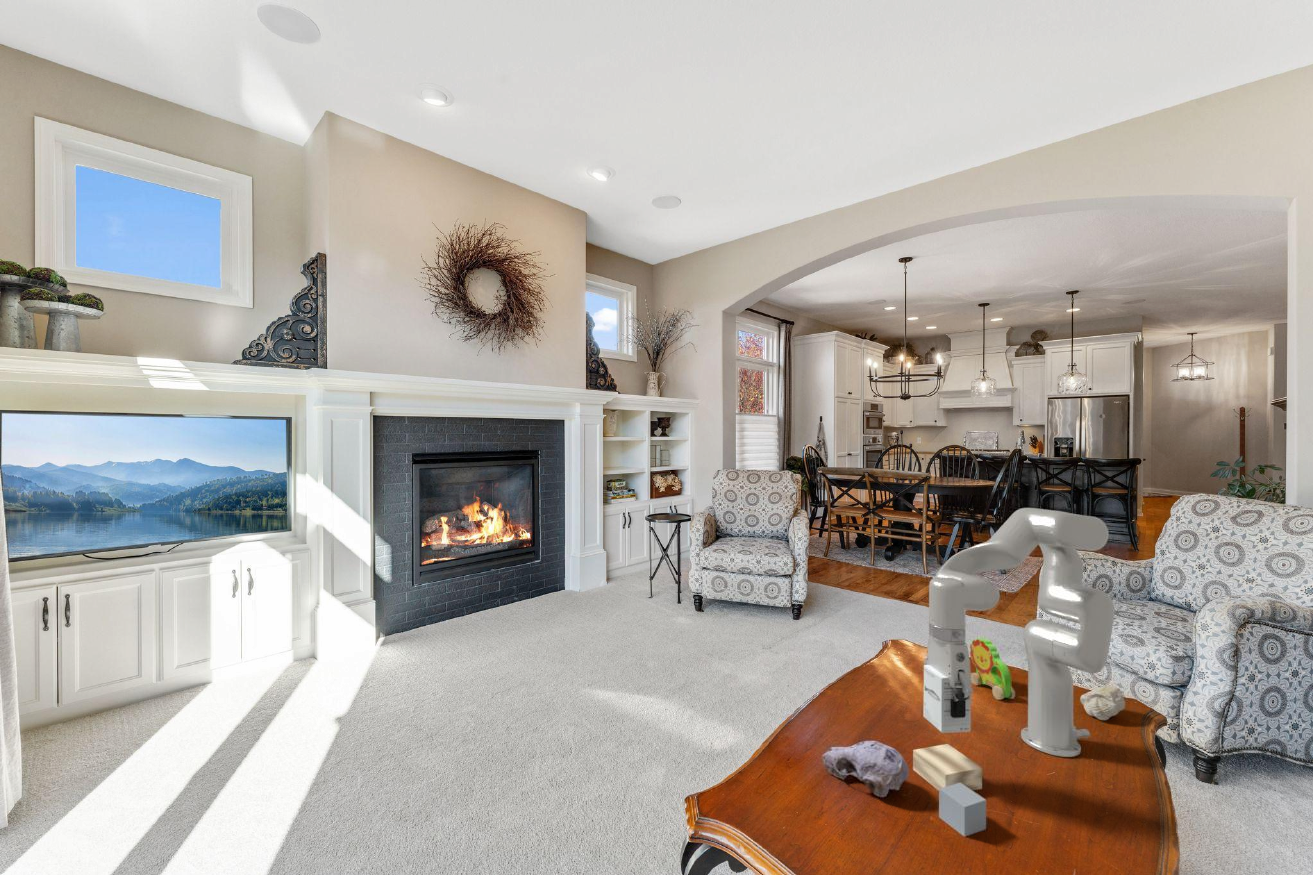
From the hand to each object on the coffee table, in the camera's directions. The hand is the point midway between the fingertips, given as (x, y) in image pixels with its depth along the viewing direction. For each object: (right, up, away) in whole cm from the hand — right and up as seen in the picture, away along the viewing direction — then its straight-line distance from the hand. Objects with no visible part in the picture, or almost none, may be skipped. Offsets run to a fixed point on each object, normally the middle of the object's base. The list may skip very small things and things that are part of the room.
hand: (946, 707), depth 127 cm
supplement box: (0, -4, 0) cm, 4 cm away
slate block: (-5, -17, -14) cm, 23 cm away
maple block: (0, -17, 0) cm, 17 cm away
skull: (-19, -17, 0) cm, 26 cm away
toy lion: (+38, -17, +45) cm, 61 cm away
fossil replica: (+60, -17, +29) cm, 69 cm away
